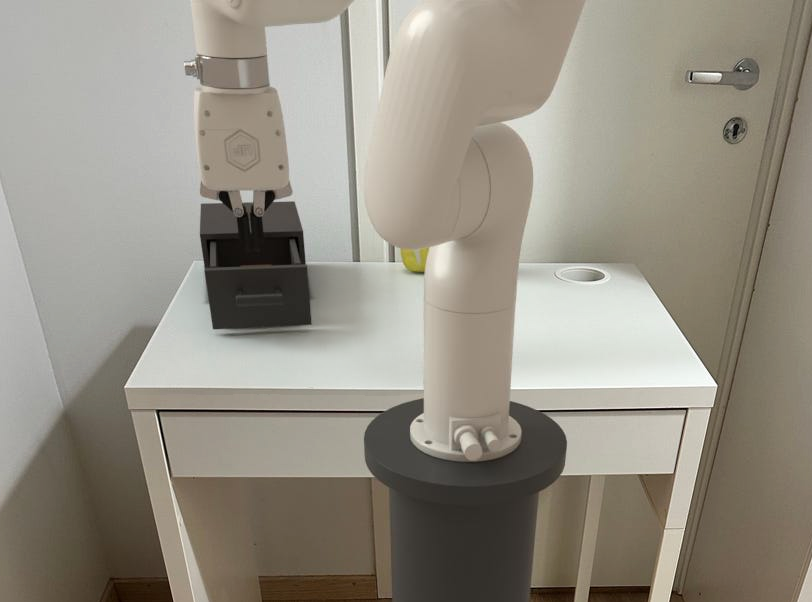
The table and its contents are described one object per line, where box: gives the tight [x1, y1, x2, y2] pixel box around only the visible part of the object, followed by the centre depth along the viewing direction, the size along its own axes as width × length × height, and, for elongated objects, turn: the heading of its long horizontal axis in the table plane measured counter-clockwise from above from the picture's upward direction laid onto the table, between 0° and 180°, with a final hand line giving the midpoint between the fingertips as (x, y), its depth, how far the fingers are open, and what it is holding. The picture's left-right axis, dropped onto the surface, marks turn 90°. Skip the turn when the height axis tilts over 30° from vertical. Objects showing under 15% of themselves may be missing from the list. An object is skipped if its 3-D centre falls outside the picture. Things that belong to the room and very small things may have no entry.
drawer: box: [204, 237, 313, 330], centre depth 127 cm, size 21×13×8 cm, turn 12°
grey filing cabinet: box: [199, 200, 307, 269], centre depth 140 cm, size 18×15×10 cm
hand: (252, 248), depth 111 cm, fingers closed
